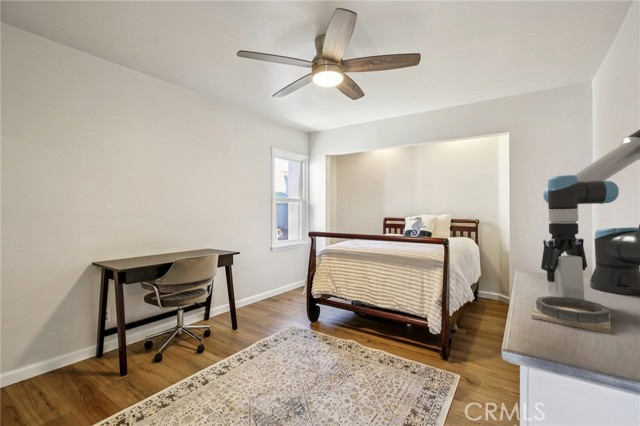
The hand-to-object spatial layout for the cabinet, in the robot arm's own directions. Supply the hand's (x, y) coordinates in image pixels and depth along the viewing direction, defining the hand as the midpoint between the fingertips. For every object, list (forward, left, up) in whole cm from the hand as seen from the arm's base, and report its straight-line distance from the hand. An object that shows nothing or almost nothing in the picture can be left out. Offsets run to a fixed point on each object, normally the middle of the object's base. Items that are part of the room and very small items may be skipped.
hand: (564, 290), depth 96 cm
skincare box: (0, 0, -4) cm, 4 cm away
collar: (+12, +11, -4) cm, 17 cm away
